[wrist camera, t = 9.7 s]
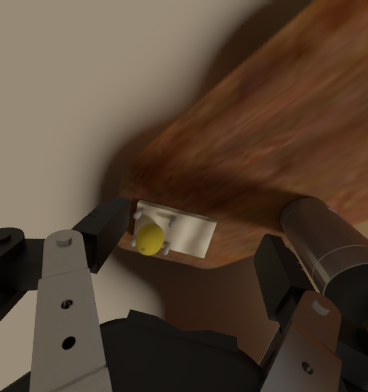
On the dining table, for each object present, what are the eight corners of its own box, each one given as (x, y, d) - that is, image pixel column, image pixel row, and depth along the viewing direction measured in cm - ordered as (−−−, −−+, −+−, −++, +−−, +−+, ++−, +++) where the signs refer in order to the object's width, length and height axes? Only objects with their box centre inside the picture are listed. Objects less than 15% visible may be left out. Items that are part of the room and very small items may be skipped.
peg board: (216, 219, 42) (217, 231, 38) (204, 253, 46) (203, 268, 42) (140, 199, 42) (132, 209, 38) (135, 235, 46) (127, 248, 42)
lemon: (147, 212, 41) (134, 234, 34) (171, 223, 42) (163, 247, 35) (139, 231, 44) (125, 255, 37) (161, 241, 44) (152, 267, 37)
